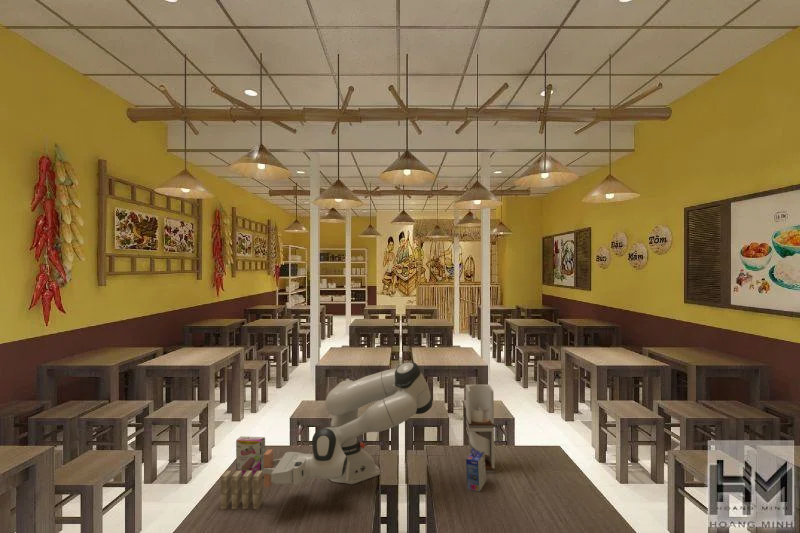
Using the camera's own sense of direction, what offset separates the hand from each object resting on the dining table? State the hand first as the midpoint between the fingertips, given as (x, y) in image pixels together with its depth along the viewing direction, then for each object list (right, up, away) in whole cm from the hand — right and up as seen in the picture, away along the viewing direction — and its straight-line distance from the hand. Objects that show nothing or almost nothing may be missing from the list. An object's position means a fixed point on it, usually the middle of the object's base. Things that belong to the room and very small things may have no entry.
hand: (266, 466), depth 178 cm
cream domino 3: (-7, -15, 0) cm, 16 cm away
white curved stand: (+85, -14, +31) cm, 92 cm away
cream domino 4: (-3, -15, 0) cm, 15 cm away
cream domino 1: (-15, -15, +1) cm, 21 cm away
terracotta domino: (+1, -6, 0) cm, 7 cm away
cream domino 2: (-11, -15, 0) cm, 18 cm away
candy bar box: (-14, -15, +25) cm, 32 cm away
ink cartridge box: (+81, -14, +14) cm, 83 cm away
